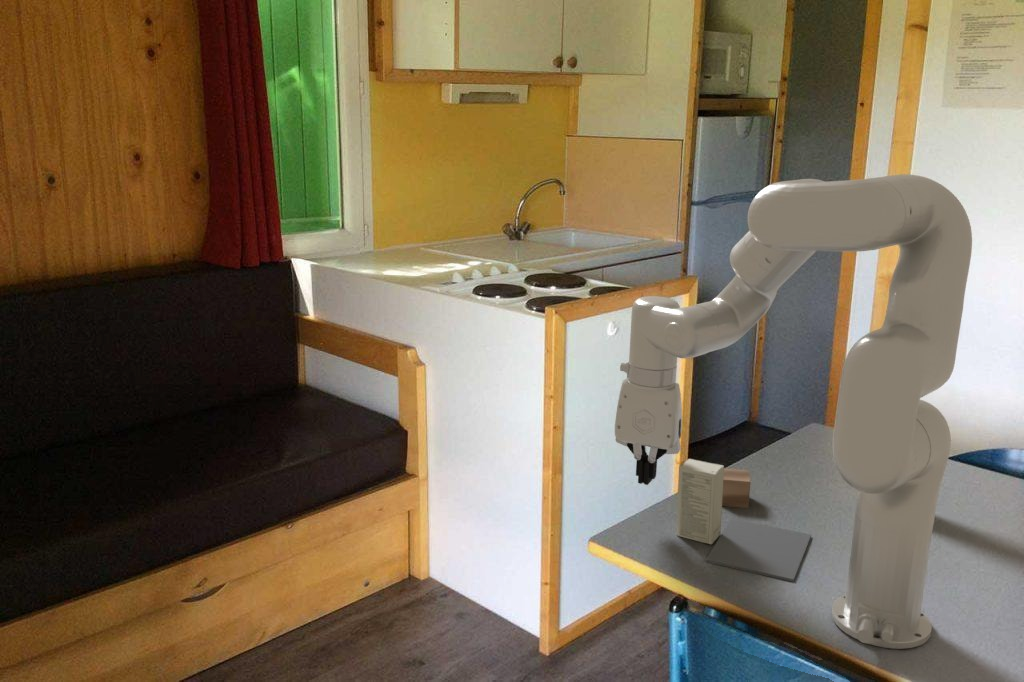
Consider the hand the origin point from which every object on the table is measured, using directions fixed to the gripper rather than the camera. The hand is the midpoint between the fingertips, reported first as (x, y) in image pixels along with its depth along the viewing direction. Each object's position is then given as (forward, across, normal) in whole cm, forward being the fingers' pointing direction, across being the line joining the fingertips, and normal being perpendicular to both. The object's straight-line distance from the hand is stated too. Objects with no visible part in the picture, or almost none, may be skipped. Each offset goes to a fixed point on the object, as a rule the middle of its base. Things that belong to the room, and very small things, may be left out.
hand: (645, 481), depth 152 cm
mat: (+7, +19, 0) cm, 21 cm away
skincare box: (+8, +9, 0) cm, 12 cm away
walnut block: (+8, +11, +16) cm, 21 cm away
